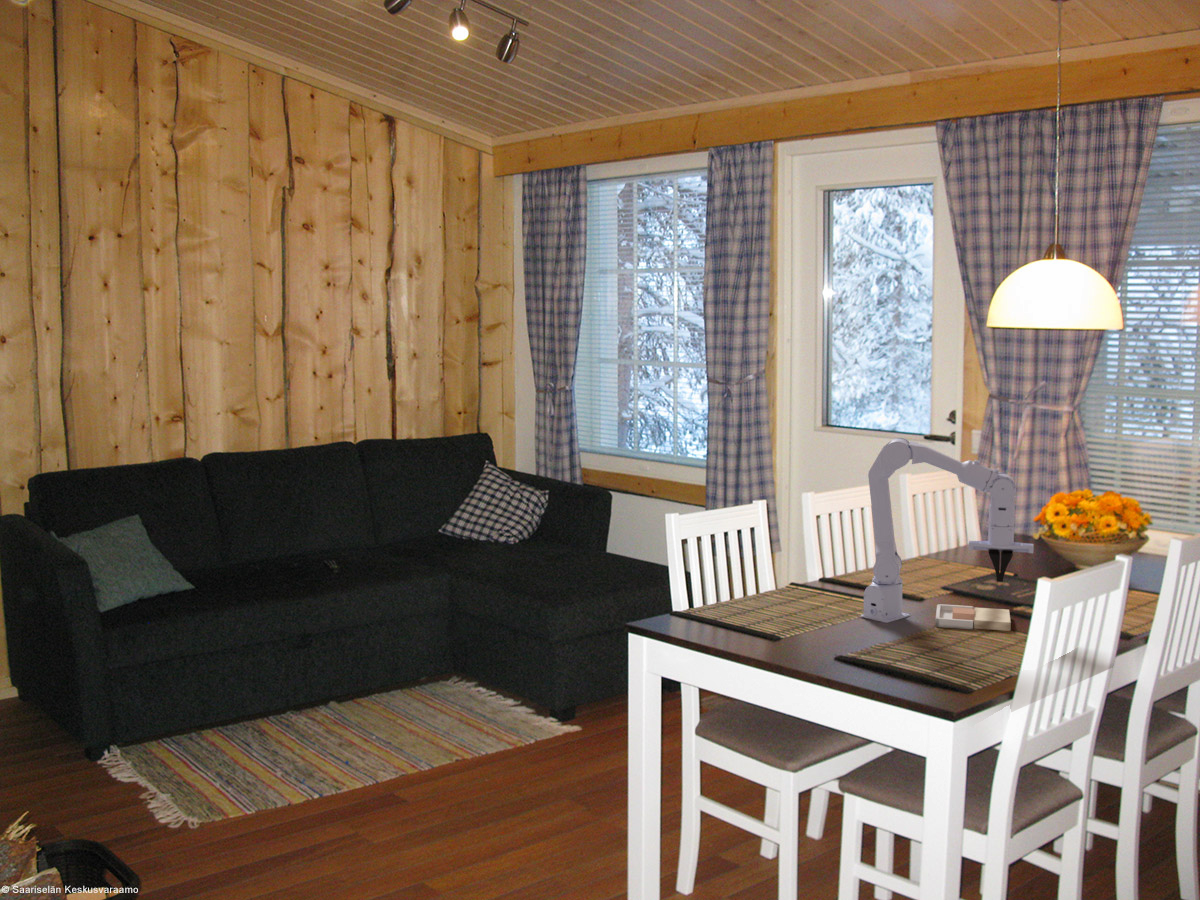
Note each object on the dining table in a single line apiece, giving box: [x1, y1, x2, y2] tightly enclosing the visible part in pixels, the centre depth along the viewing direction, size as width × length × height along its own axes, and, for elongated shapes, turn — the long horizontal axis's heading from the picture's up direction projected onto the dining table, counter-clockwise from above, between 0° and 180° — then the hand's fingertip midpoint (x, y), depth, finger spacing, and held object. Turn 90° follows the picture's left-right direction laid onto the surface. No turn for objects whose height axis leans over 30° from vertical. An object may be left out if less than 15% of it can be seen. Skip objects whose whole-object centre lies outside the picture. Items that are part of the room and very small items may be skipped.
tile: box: [952, 608, 975, 623], centre depth 268 cm, size 5×5×2 cm
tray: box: [935, 603, 974, 630], centre depth 269 cm, size 8×14×2 cm, turn 162°
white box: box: [973, 606, 1012, 632], centre depth 266 cm, size 8×12×2 cm, turn 162°
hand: (999, 580), depth 264 cm, fingers closed
